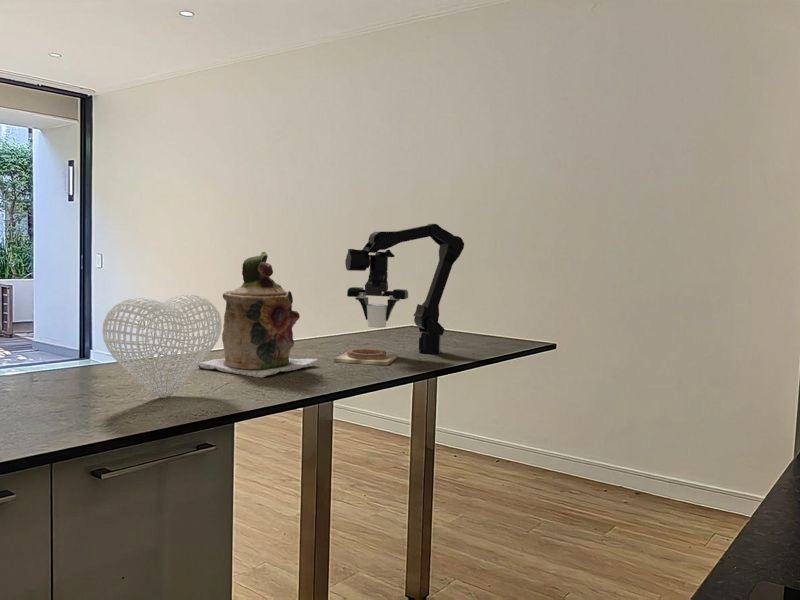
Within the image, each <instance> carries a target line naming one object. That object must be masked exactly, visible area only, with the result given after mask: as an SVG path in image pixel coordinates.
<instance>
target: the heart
mask: <svg viewBox="0 0 800 600" xmlns="http://www.w3.org/2000/svg"><path fill="white" fill-rule="evenodd" d="M192 306H193V307H192ZM199 307H200V309H199ZM130 308H131V309H130ZM186 308H187V309H186ZM136 309H137V311H135V310H136ZM181 310H182V311H181ZM146 311H147V312H146ZM121 313H122V315H120V314H121ZM126 314H127V316H125V315H126ZM190 314H191V315H190ZM201 314H202V316H203V318H202V316H201ZM132 315H134V317H132ZM185 315H186V316H185ZM196 316H198V318H196ZM138 317H139V318H138ZM118 318H120V319H118ZM156 318H157V319H156ZM191 318H192V319H191ZM130 320H131V321H130ZM145 322H146V325H145ZM112 326H113V327H112ZM122 326H123V328H122ZM152 326H153V327H152ZM170 326H171V327H170ZM185 327H186V328H185ZM190 327H191V328H190ZM128 328H130V330H129V331H128ZM122 329H123V330H122ZM133 329H136V332H135V333H134V332H133ZM144 329H145V332H144ZM140 330H141V331H140ZM157 331H158V334H159V335H158V334H157ZM200 331H202V332H201V333H202V334H201V333H200ZM205 331H207V333H206V332H205ZM140 332H141V333H140ZM196 332H197V334H196V335H195V333H196ZM221 332H222V318H221V315H220V311H219V310H218V309H217V307H216V306H215V305H214V304H213V303H212V301H210V300H208V299H207V298H204V297H202V296H199V295H196V294H182V295H181V294H180V295H176V296H174V297H171V298H169V299H166V300H165V301H162V302H160V301H158V300H156V299H152V298H151V299H150V298H145V297H136V298H135V297H134V298H128V299H124V300H123V301H121V302H118V303H117V304H114V306H113V307H112V308H111V309H109V311H108V312H107V314H106V316H105V318H104V320H103V324H102V337H103V341H104V345H105V346H106V348H107V350H108V352H109V354H111V356H112V358H113V359H114V360H115V361H116V362H117V363H118V364H119V366H120V367H122V368H123V369H124V370H125V371H126V372H128V373H129V374H130V375H131V376H132V377H134V378H135V379H136V380H137V381H138V382H139V383H140V384H141V385H142V386H143V387H144V388H145V389H147V390H148V392H149V393H150V392H151V394H152V395H154V396H156V397H158V398H163V399H164V398H168V397H170V396H172V395H173V394H174V393H176V392H177V391H178V390H179V389H180V387H182V385H183V384H184V383H185V382H186V380H187V379H188V378H189V377H190V375H191V374H193V372H194V371H195V370H196V368H198V367H199V366H198V365H199V364H200V363H201V362H204V360H205V358H206V357H207V356H208V355H209V354H211V352H212V350H213V349H214V347H215V346H216V344H217V342H218V341H219V338H220V337H221V334H222V333H221ZM178 333H179V334H178ZM190 334H191V335H190ZM128 335H129V340H127V336H128ZM122 336H123V340H122ZM133 336H135V340H133ZM164 336H165V337H164ZM169 336H170V337H169ZM140 337H141V340H140V339H139V338H140ZM155 340H157V343H158V344H156V341H155ZM202 340H203V342H202ZM150 341H152V343H150ZM173 341H174V343H173ZM191 341H192V343H191ZM197 341H198V342H197ZM168 343H169V345H168ZM117 344H118V345H117ZM122 345H124V346H123V347H122ZM127 345H130V348H128V346H127ZM176 345H177V346H176ZM185 345H186V346H185ZM134 346H136V348H134ZM141 346H142V347H141ZM195 347H196V348H195ZM159 349H161V350H160V351H159ZM194 349H195V350H194ZM169 351H170V353H169ZM179 351H180V353H179ZM168 353H169V354H168ZM130 354H131V355H130ZM156 354H157V356H156V357H155V355H156ZM189 355H190V356H189ZM172 357H173V358H172ZM176 357H177V359H176ZM149 358H152V359H149ZM181 358H183V359H181ZM173 364H174V365H173ZM179 364H180V365H179ZM141 367H142V368H141ZM153 369H154V370H153ZM166 370H167V371H166ZM170 370H172V372H170ZM154 374H156V376H155V375H154ZM170 375H171V377H169V376H170ZM150 376H151V377H150ZM164 382H165V383H164Z"/></svg>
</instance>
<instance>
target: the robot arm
mask: <svg viewBox="0 0 800 600" xmlns="http://www.w3.org/2000/svg"><path fill="white" fill-rule="evenodd" d="M424 238H431V239H432V240H433V242H434V243H436V244H437V245H438V246H439V248H438V259H439V260H438V264H437V266H436V269H435V272H434V274H433V278H432V281H431V284H430V286H429V289H428V292H427V295H426V298H425V300H424V302H423V303H422V304H419V303H418V304H417V305H416V310H415V312H414V313H413V318H414V319H413V320H414V323H415V326H416V327H418V330H419V332H420V336H419V338H418V352H419V354H433V355H435V354H436V355H439V354H440V353H441V352H442V350H441V343H442V342H441V341H442V336H443V335H444V333H445V328H444V327H443V326H442V324H441V323H439V317H440V302H441V299H442V297H443V294H444V292H445V291H444V290H445V288H446V285H447V282H448V280H449V278H450V277H449V276H450V274H451V270H452V268H453V265H454V264H455V262H456V261H457V260H458V259H459V257H460V256H461V255H462V252H463V250H464V248H465V242H464V240H463V238H462V237H460V236H459V235H454V234H453V233H451V232H449V231H448V230H446V229H444V228H443V227H441V226H440V225H439V224H437V223H428V224H427V225H421V226H416V227H410V228H407V229H400V230H396V231H395V230H394V231H373V232H372V233H370V235H369V237H368V239H367V240H368V241H367V243H366V244H365V245H364V247H363V248H362V249H355V248H349V249H348V248H347V253H346V258H345V262H344V263H345V269H346V271H350V272H365V271H366V270H367V269H369V274H368V279H367V281H366V283H365V284H364V287H363V286H362V287H361V286H360V287H358V286H352V287H349V288H348V289H347V291H346V292H347V295H346V296H347V297H350V298H351V297H352V298H355V300H356V301H358V302H359V304H360V305H361V308H362V311H363V314H364V317H365V320H366V321H368V319H367V305H368V304H369V296H370V297H371V296H372V297H374V296H375V297H388V299H387V305H388V306H387V313H386V322H388V321H389V319H390V316H391V314H392V312H393V309H394V307H395V305H396V303H397V302H400V301H401V300H406V299H409V291H408V290H407V289H403V288H402V289H401V288H394V289H392V290H389V282H388V276H389V274H388V271H389V269H388V267H389V258H395V254H394V253H393V252H392V251H391V250H390V248H393V247H394V246H397V245H398V244H401V243H404V242H409V241H414V240H415V241H416V240H419V239H420V240H421V239H424ZM380 250H381V251H380Z"/></svg>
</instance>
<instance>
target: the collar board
mask: <svg viewBox="0 0 800 600" xmlns="http://www.w3.org/2000/svg"><path fill="white" fill-rule="evenodd" d="M396 359H398V354H393V353H387V351H386V350H381V349H377V348H355V349H354V348H353V349H352V348H351V349H348V350H347V351H346V352H344V353H342V354H340V355H338V356H335V358H333V362H334V363H345V364H363V365H374V366H388V365H390V364H392V362H394V361H395V360H396Z"/></svg>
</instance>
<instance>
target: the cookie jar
mask: <svg viewBox="0 0 800 600" xmlns="http://www.w3.org/2000/svg"><path fill="white" fill-rule="evenodd" d="M268 257H269V256H268V254H267V252H266V251H262V252H261V253H260V255H256V256H255V255H254V256H251V257H248V258H246V259H244V260H243V263H242V267H241V269H242V272H241V274H242V280H243V283H242V285H241V286H240V287H237V288H235V289H234V290H229V291H225V292H223V293H222V298H223V299H224V301H225V302H226V303H225V304H226V305H225V313H224V316H223V330H222V333H221V339H222V344H223V350H224V358H216V359H215V358H214V359H211V360H205V361H204V360H203V361H202V362H201V363H200V364H199V365H198V366H197V367H198V368H200V369H201V368H202V369H205V370H215V371H219V372H223V373H230V374H235V375H236V374H237V375H241V376H246V377H247V376H248V377H252V376H253V378H258V377H260V378H265V377H267V376H271V375H276V374H277V373H280V372H290V371H296V370H298V369H299V370H300V369H303V368H309V367H314V366H316V364H317V362H318V360H319V359H318V358H291V357H290V354H291V350H292V348H293V347H294V346H295V341H294V334H293V333H294V332H293V327H294V326H295V324H296V323H297V321H299V320H300V318H301V315H300V313H299V312H298V311H297V310H293V303H294V302H293V301H294V300H293V299H294V297H293V294H292V292H291V290H286V291H285V289H284V288H283V287H282V286H281V285H280V284H279V283H276V282H275V280H273V278H272V277H271V276H273V274H274V269H273V266H272V264H270V263H267V260H268ZM260 378H259V379H260Z"/></svg>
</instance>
